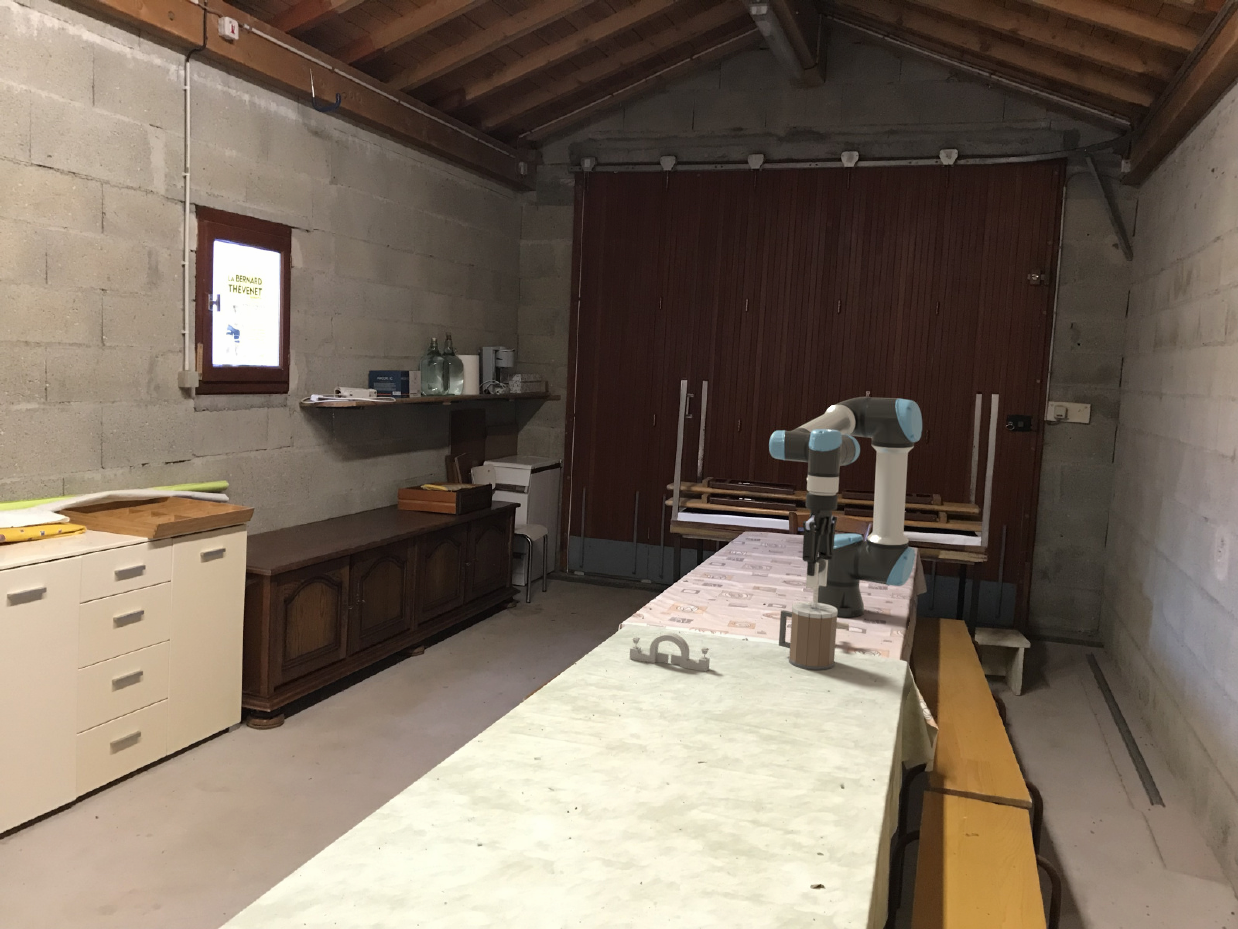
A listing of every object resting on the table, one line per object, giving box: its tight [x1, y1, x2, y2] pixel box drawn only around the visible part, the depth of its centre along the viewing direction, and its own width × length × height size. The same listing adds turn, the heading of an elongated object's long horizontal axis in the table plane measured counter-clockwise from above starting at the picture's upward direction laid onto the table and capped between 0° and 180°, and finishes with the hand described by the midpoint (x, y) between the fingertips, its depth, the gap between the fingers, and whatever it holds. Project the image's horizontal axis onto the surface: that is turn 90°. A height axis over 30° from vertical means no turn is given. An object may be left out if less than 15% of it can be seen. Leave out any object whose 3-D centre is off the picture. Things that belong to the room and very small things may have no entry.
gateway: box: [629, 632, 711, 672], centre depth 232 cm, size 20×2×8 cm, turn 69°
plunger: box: [812, 556, 826, 610], centre depth 235 cm, size 8×8×22 cm
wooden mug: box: [778, 601, 838, 671], centre depth 237 cm, size 11×14×14 cm
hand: (816, 586), depth 235 cm, fingers closed on plunger, 4 cm apart
